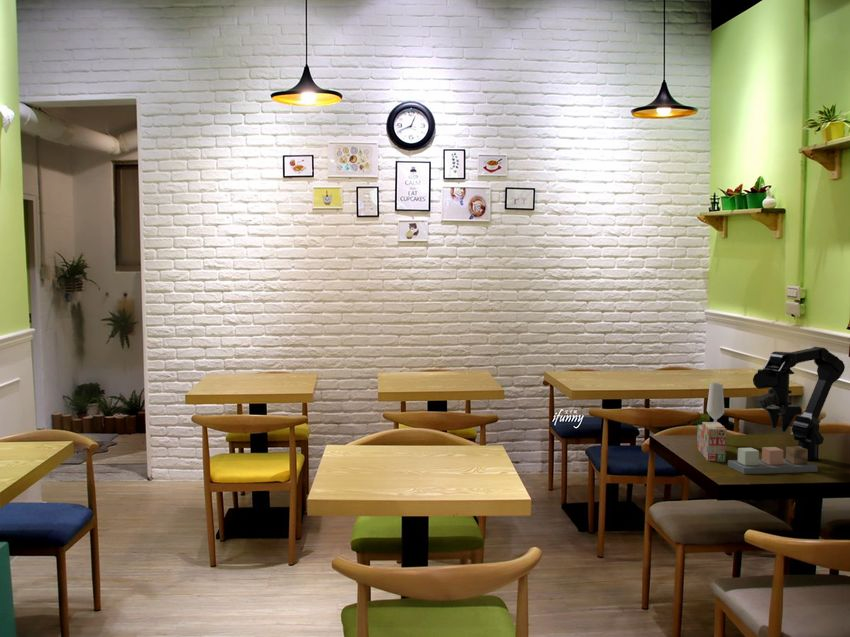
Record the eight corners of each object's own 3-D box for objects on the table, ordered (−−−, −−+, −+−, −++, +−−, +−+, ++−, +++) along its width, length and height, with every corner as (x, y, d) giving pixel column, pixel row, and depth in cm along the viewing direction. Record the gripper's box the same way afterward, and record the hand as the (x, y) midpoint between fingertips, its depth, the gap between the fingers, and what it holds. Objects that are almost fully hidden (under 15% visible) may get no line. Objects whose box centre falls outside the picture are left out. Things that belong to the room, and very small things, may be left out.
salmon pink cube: (775, 460, 277) (775, 446, 277) (783, 464, 272) (783, 450, 272) (761, 461, 277) (762, 447, 276) (769, 464, 272) (769, 450, 271)
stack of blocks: (696, 448, 306) (697, 416, 305) (713, 448, 305) (714, 417, 304) (707, 461, 285) (708, 428, 284) (725, 462, 284) (726, 428, 283)
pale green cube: (751, 461, 276) (751, 447, 276) (758, 465, 271) (759, 450, 271) (737, 461, 276) (738, 447, 275) (744, 465, 271) (745, 451, 270)
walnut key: (798, 460, 278) (799, 446, 278) (807, 463, 273) (807, 449, 273) (785, 460, 278) (786, 446, 277) (793, 464, 273) (794, 449, 272)
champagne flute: (719, 445, 309) (721, 385, 308) (703, 443, 314) (704, 383, 312) (726, 442, 314) (728, 383, 313) (709, 440, 319) (711, 381, 317)
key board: (799, 463, 282) (799, 458, 282) (817, 471, 271) (817, 466, 271) (727, 465, 279) (727, 460, 278) (743, 474, 268) (743, 468, 268)
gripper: (745, 383, 290) (744, 425, 291) (773, 391, 271) (772, 436, 272) (774, 382, 291) (772, 424, 292) (803, 390, 273) (802, 435, 274)
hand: (779, 429), depth 283 cm, fingers open, 6 cm apart
